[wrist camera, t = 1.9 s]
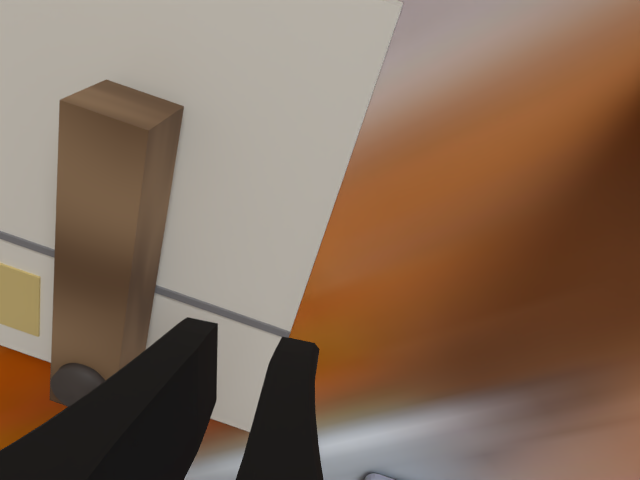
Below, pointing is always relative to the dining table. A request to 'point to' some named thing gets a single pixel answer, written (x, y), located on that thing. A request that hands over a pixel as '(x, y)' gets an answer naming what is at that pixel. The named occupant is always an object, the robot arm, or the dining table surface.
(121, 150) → the bar
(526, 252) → the dining table surface
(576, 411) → the dining table surface
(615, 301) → the dining table surface
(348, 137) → the latch board
